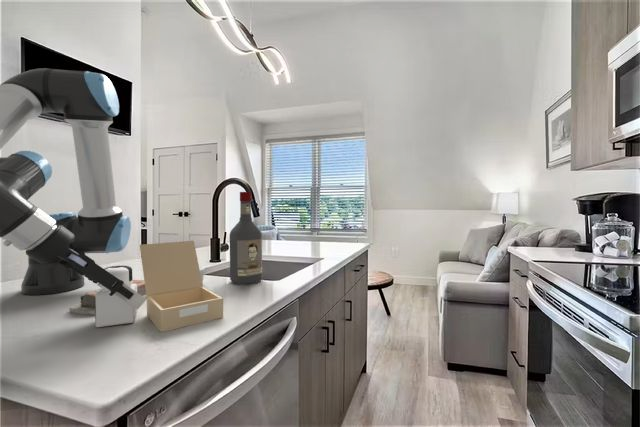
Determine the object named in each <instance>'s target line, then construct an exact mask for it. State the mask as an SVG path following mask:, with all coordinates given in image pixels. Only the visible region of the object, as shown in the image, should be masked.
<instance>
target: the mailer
mask: <svg viewBox="0 0 640 427" xmlns="http://www.w3.org/2000/svg"><path fill="white" fill-rule="evenodd" d="M139 250H140V258H141V265H142V272H143V280H144V281H145V289H146V296H147V298H146V315H147V317H148V318H149V319H150V320H151V321H152V322H153V324H154V325H155V327H156V328H157V329H158V331H160V332H161V333H163V332H168V331H171V330H176V329H180V328H184V327H188V326H191V325H192V326H193V325H196V324H200V323H205V322H208V321H209V322H210V321H214V320H217V319H218V320H219V319H222V318H223V319H224V298H223V296H220V295H218V294H216V293H215V292H213V291H211V290H210V289H208V288H206V287H204V286H203V282H202V279H201V274H200V269H199V266H200V265H199V261H198V260H199V259H198V255H197V250H196V245H195V241H194V240H184V241H172V242H160V243H145V244H139Z"/></svg>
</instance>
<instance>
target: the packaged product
mask: <svg viewBox="0 0 640 427" xmlns="http://www.w3.org/2000/svg"><path fill="white" fill-rule="evenodd" d="M132 280H133V283H132V284H137V293H139V294H140V295H142V296H143V297H144V298H146V299H147V296H146V289H145V281H144V279H143V280H142V279H139V280H138V279H132ZM100 289H101V288H100ZM100 289H95V290H92V291H89V292H85V293H84V294H82V295H81V296H80V303H79V304H76V305H73V306H70V307H68V308H69V309H68V310H69V312H70V313H74V314H84V315H94V316H95V294H96V293H97V292H98V291H99V290H100Z"/></svg>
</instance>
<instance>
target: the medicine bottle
mask: <svg viewBox="0 0 640 427" xmlns="http://www.w3.org/2000/svg"><path fill="white" fill-rule="evenodd" d="M104 269H105V270H106V271H108V272H109V273H110V274H112V275H113V276H115V277H116V278H118V279H119V280H122V281H123V282H124V284H126V285H127V286H129V287H130V288H132V289H133V290H134V291H136V292H137V284H132V283H133V280H134V279H133V268H132V267H131V266H129V265H112V266H108V267H104ZM113 286H114V285H113ZM113 286H112V287H113ZM101 287H102V288H101ZM101 287H100V290H99V289H98V290H99V291H98V292H97V293H96V294H95V315H94V318H95V320H94V321H95V327H96V328H102V327H110V326H118V325H124V324H125V325H126V324H133V323H135V319H136V318H137V315H138V313H139V312H138V310H139V309H138V310H137V309H136V308H134V307H133V306H131V305H130V304H128V303H127V302H125V301H123V300H122V299H120V298H119V297H117V296H116V295H114V294H113V296H110V295H109V294H110V293H111V292H110V290H109V289H107V288H106V287H104V286H102V285H101Z"/></svg>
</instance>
